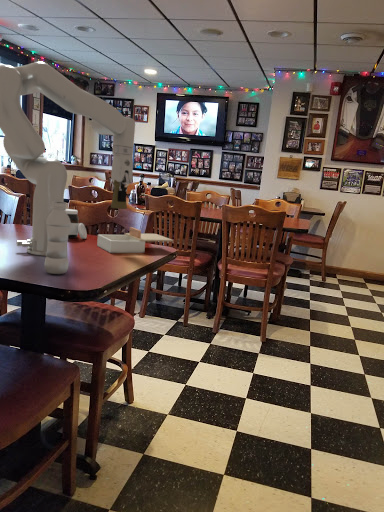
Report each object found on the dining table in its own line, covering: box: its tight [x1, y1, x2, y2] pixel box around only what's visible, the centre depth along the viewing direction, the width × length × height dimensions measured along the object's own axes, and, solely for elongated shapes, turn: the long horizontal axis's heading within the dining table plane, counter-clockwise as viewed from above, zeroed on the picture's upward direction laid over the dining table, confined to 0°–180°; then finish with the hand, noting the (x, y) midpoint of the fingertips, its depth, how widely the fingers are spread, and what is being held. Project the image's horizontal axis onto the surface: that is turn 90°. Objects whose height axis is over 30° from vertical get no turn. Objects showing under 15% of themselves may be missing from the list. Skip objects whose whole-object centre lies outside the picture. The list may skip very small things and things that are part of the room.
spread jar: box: [65, 208, 88, 240], centre depth 170 cm, size 12×11×12 cm
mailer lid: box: [124, 226, 174, 242], centre depth 163 cm, size 14×14×4 cm
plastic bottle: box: [43, 201, 71, 275], centre depth 110 cm, size 6×7×20 cm
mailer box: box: [96, 234, 146, 254], centre depth 157 cm, size 14×14×4 cm
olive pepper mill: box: [110, 180, 128, 210], centre depth 152 cm, size 6×6×11 cm
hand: (119, 200), depth 153 cm, fingers closed on olive pepper mill, 4 cm apart
